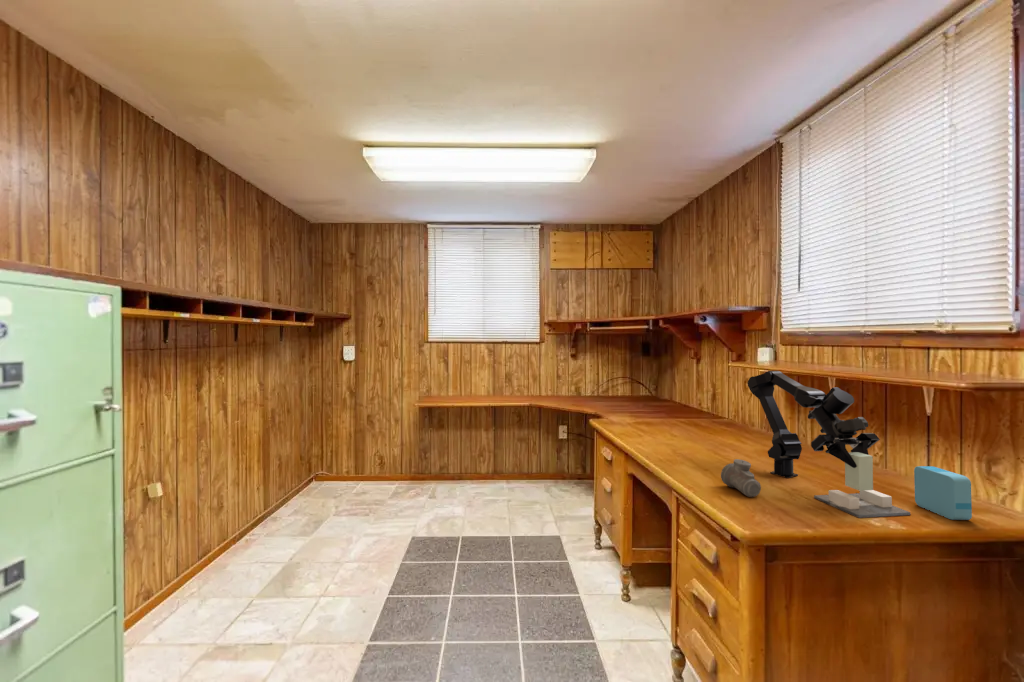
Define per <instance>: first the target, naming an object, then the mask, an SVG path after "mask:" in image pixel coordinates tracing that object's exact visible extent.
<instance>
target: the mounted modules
mask: <svg viewBox="0 0 1024 682" xmlns="http://www.w3.org/2000/svg"><path fill="white" fill-rule="evenodd" d="M859 493H860V499H863V500H865V501H868V502H870V503H873V504H876V505H878V506H880V507H892V505H893V503H892V502H893V501H892V500H893V498H892V496H891V495H889V494H885V493H884V492H883V493H882V492H880V491H877V490H874V489H873V490H862V491H859ZM849 494H850V493H847V492H844V491H842V490H838V489H830V490H828V495H829V500H830V501H832V502H835V503H837V504H839V505H842V506H844V507H846V508H848V509H859V498H857V497H854V496H852V495H849Z"/></svg>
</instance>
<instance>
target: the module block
mask: <svg viewBox="0 0 1024 682" xmlns="http://www.w3.org/2000/svg"><path fill="white" fill-rule="evenodd" d="M848 453H849V454H850V456H851V457H852V459H853V460H854V462H855V463H856V465H857V467H856V468H853V467H851V466H850V465H848V464H846V463H845V462H844V482H845V483H844V484H845V485H844V486H846V487H849V488H851V489H854V490H857V491H859V492H860V491H862V490H874V474H873V473H874V470H873V469H874V465H873V463H874V462H873V455H870V454H869V455H867V454H863V453H860V452H851V451H850V452H848Z"/></svg>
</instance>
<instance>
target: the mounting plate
mask: <svg viewBox="0 0 1024 682" xmlns="http://www.w3.org/2000/svg"><path fill="white" fill-rule="evenodd" d="M848 494H849V495H852V496H854V497H857V498H859V509H848V508H846V507H844V506H842V505H839V504H837V503H835V502H832V501H830V500H829V494H818V495H817V494H815V495H813V498H814V499H816V500H818V501H820V502H822V503H825V504H826V505H829V506H831V507H833V508H835V509H838V510H840V511H842V512H844V513H847V514H849V515H851V516H854V517H856V518H858V519H863V518H865V519H866V518H881V517H883V518H884V517H898V516H899V517H900V516H902V517H903V516H911V511H908V510H905V509H903V508H900V507H898V506H895V505H893V504H892V507H880V506H878V505H876V504H873V503H870V502H868V501H865V500H863V499H860V492H859V493H857V492H856V493H855V492H854V493H848Z"/></svg>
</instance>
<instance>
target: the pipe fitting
mask: <svg viewBox="0 0 1024 682" xmlns="http://www.w3.org/2000/svg"><path fill="white" fill-rule="evenodd" d="M751 467H752V463H750V461H748V460H744V459H737V458H736V459H735V458H734V459H733V463H727V464H726V465H725V466H723V468H722V469H721V472H720V479H721V482H722V483H723V484H725V485H727V486H728V487H729V488H735V489H736V490H738V491H739V492H741V493H742V494H743V495H745V496H747V497H748V498H755V497H757V496H759V494H760V492H761V490H762V485H761V483H760V482H759V481H758V480H757V479H756V478H755V474H754V473H752V472H751V471H750V468H751Z"/></svg>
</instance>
